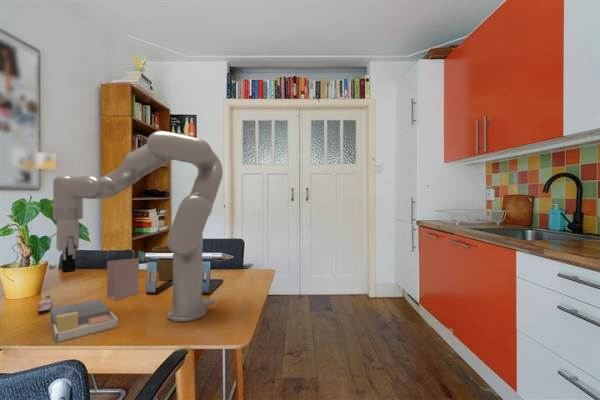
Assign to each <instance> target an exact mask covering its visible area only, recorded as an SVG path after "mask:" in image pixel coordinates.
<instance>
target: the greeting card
mask: <svg viewBox="0 0 600 400" xmlns="http://www.w3.org/2000/svg"><path fill="white" fill-rule="evenodd" d="M139 261H140V258H139V257H137V258H135V257H134V258H125V259H116V260H115V259H114V260H107V261H106V262H107V263H106V269H107V270H106V298H108V299H109V298H113V302H116V301H119V300H121V299H124V298H128V297H131V296H133V295H136V294H139V292H140V289H139V287H140V285H139V284H140V282H139V281H140V278H139V277H140V271H139V267H140V262H139Z"/></svg>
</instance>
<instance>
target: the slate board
mask: <svg viewBox="0 0 600 400" xmlns="http://www.w3.org/2000/svg"><path fill="white" fill-rule="evenodd" d="M76 311H78V325H82V324H87V323H88V319H90V318H94V317H99V316H103V315H108V316H109V317H110V312H111V311H110V309H109V308H108V307H107V305H106V304H105V303H104V302H103V301H102V300H101V299H100V298H97V299H93V300H89V301H88V300H87V301H83V302H77V303H72V304H71V303H70V304H66V305H60V306H56V307H51V308H50V319H51V322H52V323H51V324H52V325H53V324H56V327H57V315H61V314H66V313H71V312H76Z"/></svg>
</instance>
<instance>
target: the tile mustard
mask: <svg viewBox="0 0 600 400" xmlns="http://www.w3.org/2000/svg"><path fill="white" fill-rule="evenodd" d="M56 328H57V331H58V333H60V332H64V331H68V330H72V329H77V328H78V311H76V312H71V313H66V314H61V315H57V327H56Z"/></svg>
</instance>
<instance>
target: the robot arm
mask: <svg viewBox="0 0 600 400" xmlns="http://www.w3.org/2000/svg"><path fill="white" fill-rule="evenodd" d="M171 161H178V162H181V163H182V162H183V163H189V164H192V165H193V166H195V167H196V169H197V175H196V177H195V179H194V182H193V185H192V187H191V191H190V193H189V194H188V195H187V196H185V197H183V199H182V201H181V202H180V204H179V206H178V208H177V211H176V212H175V213H176V214H175V216H174V218H173V221H172V225H171V226H170V230H169V232H168V235H167V243H166V244H167V246H168V247H169V249H170V250H171V251H172V252H173V253H174V254H173V280H172V309H171V310H169V312H168V313H167V319H169V320H170V321H173V322H188V321H195V320H197V319H200V318H202V317H204V316H205V315H206V314H207V306H211V305H215V304H216V299H215V298H210V299H209V298H208V297H207V298H203V246H204V237H203V236H204V235H203V232H204V229H205V226H206V225H207V222H208V219H209V217H210V216H211V215H212V211H213V207H214V203H215V201H216V198H217V195H218V192H219V189H220V185H221V182H222V180H223V174H224V173H223V172H224V171H223V166H222V163H221V160H220V159H219V157H218V156H217V154H216V153H215V152H214V150H213V149H212V147H211V145H210V144H209V143H208V142H207V141H206V140H204V139H201V138H198V137H194V136H190V135H189V136H188V135H184V134H180V133H174V132H172V131H171V132H170V131H165V130H157V131H154V132H152V133H151V134H150V135H148V137H147V140H146V143H145V144H144V145H142V146H140V147H139V148H136V149H134V150H132V151H131V152H129V153H127V154H126V155H125V156H124V159H123V161H122V164H121V165H120V166H119V167H117V168H116V169H115V170H113V171H111V172H109V173H108V174H105V175H104V176H97V175H82V176H81V175H80V176H72V175H71V176H70V175H60V176H59V175H58V176H56V177H54V179H53V181H52V183H53V184H52V186H53V187H52V188H53V189H52V193H53V194H52V195H53V196H52V197H53V198H52V200H53V202H52V203H53V204H52V206H53V207H52V209H53V210H52V211H53V213H52V214H53V216H52V217H53V220H54V221H57V222H56V243H55V244H56V245H55V246H56V247H55V248H56V250H57V251H58V252H60V253H61V252H62V259H61V270H62V271H61V272H62V273H63V274H66V273H74V272H75V271H76V258H75V257H76V254H75V253H76V251H78V250H79V244H80V222H79V220H83V219H84V209H83V208H84V205H83V204H84V199H87V200H88V199H89V200H106V199H110V198H112V197H114V196H116V195H118V194H120V193H121V192H123V191H125V190H126V189H128V188H130V187H132V186H133V185H134V184H135V183H137V182H138V181H139V180H141V178H143V177H144V176H146V175H147V174H149V173H152V172H153V171H155V170H158V169H159V168H161V167H163V166H164V165H166V164H168V163H169V162H171Z"/></svg>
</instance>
